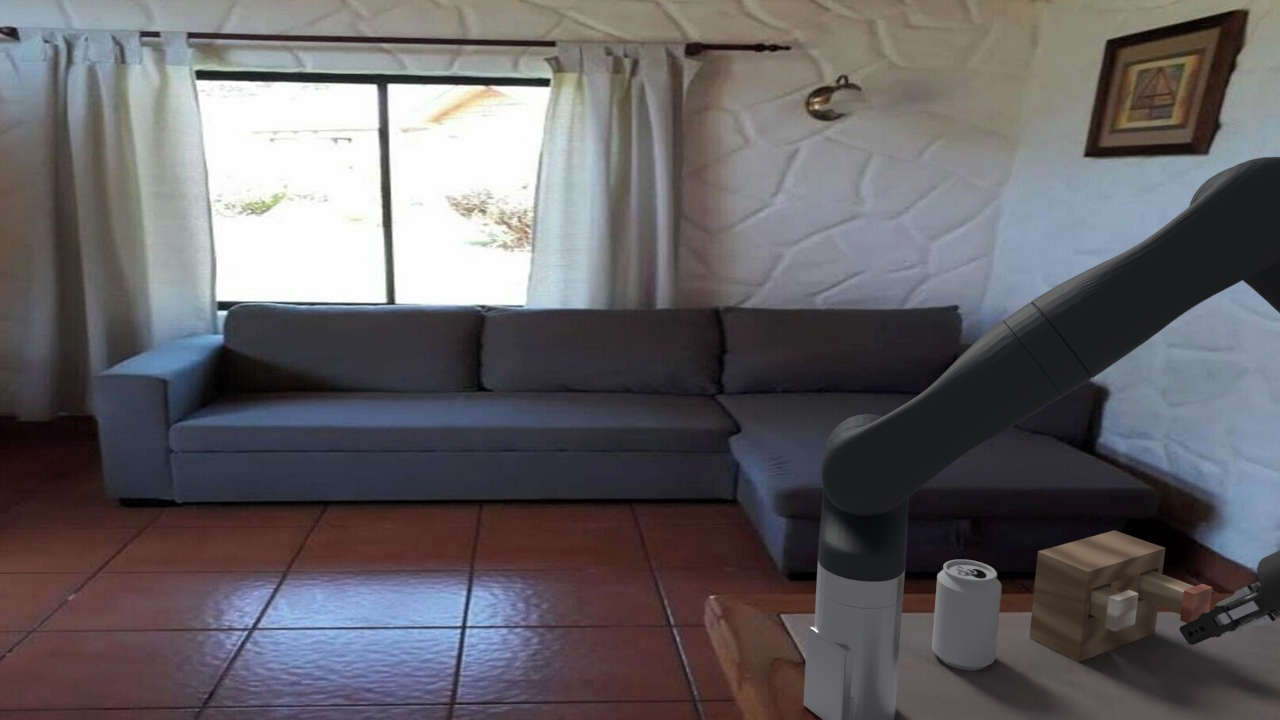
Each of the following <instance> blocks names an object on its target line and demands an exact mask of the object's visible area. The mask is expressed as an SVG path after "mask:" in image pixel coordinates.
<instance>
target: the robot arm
mask: <svg viewBox="0 0 1280 720" xmlns="http://www.w3.org/2000/svg"><path fill="white" fill-rule="evenodd" d="M1242 281H1243V282H1244V283H1245V284H1247V285H1248V286H1249V287H1250V288H1251V289H1253V291H1255V292H1256V293H1257V294H1258V295H1259V296H1260V297H1261V298H1263V300H1265V301H1266V302H1267V303H1268V304H1269V305H1270V306H1271V307H1272V308H1273V309H1274V310H1275V311H1277V312H1278V314H1280V156H1267V157H1265V156H1263V157H1257V158H1252V159H1249V160H1246V161H1244V162H1240V163H1238V164H1235V165H1233V166H1231V167H1228V168H1227V169H1224V170H1222V171H1220V172H1218V173H1215V175H1213V176H1211V177H1209V178H1208V179H1207V180H1205V181H1204V182H1203V183H1202V184H1201V185H1200V186H1199V188H1197V190H1196V191H1195V192H1194V195H1192V198H1191V199H1190V203H1189V206H1188V207H1187V208H1186V209H1184V210H1183V211H1182V212H1180V213H1179V214H1178V215H1177V216H1176V217H1174V218H1172V219H1171V220H1170V221H1169V222H1167V223H1166V224H1165V225H1164V226H1162V227H1161V228H1160V229H1158V230H1157V231H1156V232H1154V233H1153V234H1151V235H1150V236H1149V237H1148V238H1146V239H1144V240H1143V241H1141V242H1140V243H1138V244H1136V245H1135V246H1132V247H1131V248H1129V249H1128V250H1126V251H1123V252H1122V253H1119V254H1118V255H1115V256H1114V257H1112V258H1110V259H1108V260H1105V261H1103V262H1101V263H1099V264H1097V265H1095V266H1093V267H1090V268H1089V269H1087V270H1085V271H1083V272H1080V273H1079V274H1076V275H1075V276H1073V277H1070V278H1068V279H1067V280H1065V281H1064V282H1062V283H1059V284H1058V285H1056V286H1054V287H1053V288H1051V289H1049V290H1048V291H1046V292H1045V293H1042V294H1041V295H1039V296H1037V297H1036V298H1034V299H1033V300H1031V301H1030V302H1028V303H1027V304H1025V305H1023V306H1022V307H1020V308H1019V309H1018V310H1016V311H1015V312H1013V313H1012V314H1010V315H1009V316H1008V317H1006V318H1004V319H1003V320H1001V321H1000V322H998V323H997V324H996V325H995V326H993V327H992V328H991V329H989V330H988V331H987V332H985V334H983V335H982V336H981V337H980V338H979V339H977V340H976V341H975V342H974V343H973V344H972V345H971V346H970V347H969V348H968V349H967V350H966V351H964V352H963V353H962V355H960V356H959V357H958V358H957V359H956V360H955V361H954V362H953V364H951V365H950V366H949V367H948V368H947V370H946V371H945V372H943V374H941V376H939V378H937V379H936V381H934V382H933V383H932V384H931V385H929V386H928V387H927V388H926V389H925V390H923V392H921V393H920V394H918V395H917V396H915V397H914V398H912V399H911V400H909V401H907V402H906V403H904V404H903V405H901V406H899V407H897V408H896V409H894V410H893V411H891V412H889V413H887V414H886V415H883V416H881V415H877V414H868V413H865V414H864V413H863V414H857V415H853V416H851V417H849V418H846V419H845V420H843V421H842V422H841V423H839V424H838V425H837V426H836V427H835V428H834V429H833V430H832V431H831V433H830V434H829V436H828V438H827V441H826V443H825V447H824V451H823V455H822V460H821V464H820V468H821V469H820V478H821V484H822V501H821V502H822V503H821V504H822V505H821V515H820V525H819V533H818V534H819V536H818V550H817V551H818V552H817V573H816V589H815V591H816V592H815V608H814V609H815V611H814V625H810V626H809V627H808V628H807V630H806V644H805V645H806V648H805V649H806V650H805V651H806V652H805V669H804V687H803V689H804V690H803V691H804V692H803V706H805V707H806V709H808V710H809V711H811V712H812V713H813V714H815V716H817V717H819V718H820V719H821V720H894V719H895V716H896V704H897V691H898V677H899V675H898V673H899V664H900V663H899V661H900V646H901V645H900V643H901V634H902V633H901V631H902V618H903V617H902V616H903V615H902V614H903V604H904V603H903V602H904V591H905V590H904V589H905V588H904V587H905V586H904V585H905V574H906V573H905V572H906V563H907V551H908V550H907V549H908V545H907V544H908V525H909V524H908V522H909V521H908V520H909V518H908V517H909V504H910V503H909V502H910V497H911V496H913V494H915V493H916V492H917V491H918V490H919V489H921V488H922V487H923V486H925V485H926V484H927V483H928V482H930V481H931V480H932V479H934V477H936V476H937V475H938V474H940V473H941V472H942V471H944V470H945V469H946V468H948V466H950V465H952V464H953V463H954V462H955V461H957V460H958V459H959V458H961V457H962V456H963V455H965V454H967V453H968V452H970V451H971V450H973V449H974V448H976V447H978V446H981V444H984V443H985V442H987V441H989V440H991V439H993V438H994V437H996V436H998V435H1000V434H1002V433H1004V432H1005V431H1007V430H1009V429H1011V428H1012V427H1014V426H1015V425H1017V424H1018V425H1019V423H1021V422H1023V421H1024V420H1026V419H1027V418H1029V417H1031V416H1032V415H1035V413H1038V412H1039V411H1041V410H1043V409H1044V408H1046V407H1047V406H1049V405H1051V404H1053V403H1055V402H1056V401H1059V400H1060V399H1062V398H1063V397H1065V396H1066V395H1068V394H1070V393H1072V391H1075V390H1076V389H1077V388H1079V387H1080V386H1083V385H1084V384H1086V383H1087V382H1089V381H1090V380H1091V379H1093V378H1095V377H1098V375H1099V374H1101V373H1103V372H1104V371H1106V370H1107V369H1108V368H1110V367H1111V366H1112V365H1114V364H1115V363H1117V362H1119V361H1121V359H1123V358H1124V357H1126V356H1128V355H1129V354H1131V353H1132V352H1133V351H1135V350H1136V349H1137V348H1139V347H1140V346H1142V345H1143V344H1144V343H1146V342H1147V341H1148V340H1150V339H1152V338H1153V337H1154V336H1155V335H1157V334H1158V333H1160V332H1161V331H1162V330H1164V329H1165V328H1166V327H1167V326H1169V325H1170V324H1171V323H1172V322H1174V321H1175V320H1177V319H1178V318H1179V317H1181V316H1182V315H1184V314H1185V313H1187V312H1189V311H1190V310H1191V309H1193V308H1194V307H1196V306H1198V305H1199V304H1201V303H1203V302H1205V301H1206V300H1208V299H1209V298H1212V297H1213V296H1215V295H1217V294H1219V293H1221V292H1223V291H1225V290H1227V289H1230V288H1231V287H1233V286H1236V285H1237V284H1238V283H1240V282H1242ZM1256 570H1257V571H1256V572H1257V573H1256V574H1257V579H1258V581H1256V582H1255V583H1253V584H1249V585H1246V586H1245V587H1242V588H1240V589H1238V590H1235V592H1234V594H1233V595H1230V596H1228V597H1226V598H1223V600H1221V601H1218V602H1217V603H1216V604H1215V606H1214V607H1213V608H1212V609H1211V610H1209V611H1207V612H1204V613H1202V614H1201V616H1199V618H1198V619H1196V620H1194V621H1192V622H1189V623H1185V624H1182V625H1180V627H1179V633H1181V634H1180V635H1182V636H1183V638H1184V639H1185V641H1186V643H1187V644H1188V645H1191V646H1194V645H1196V644H1200V643H1201V642H1203V641H1206V640H1208V639H1212V638H1213V639H1214V638H1215V637H1216V638H1217V639H1218V638H1220V637H1222V636H1225V635H1226V633H1228V632H1229V633H1231V632H1233V633H1236V634H1238V633H1241V632H1243V631H1246V630H1249V629H1252V628H1253V627H1257V626H1258V627H1262V626H1265V625H1267V624H1269V623H1272V622H1275V621H1276V620H1278V619H1280V549H1278V550H1277V551H1275V552H1273V553H1271V554H1269V555H1267V556H1264V557H1263V558H1262V559H1260V561H1259V562H1258V563H1257V567H1256Z"/></svg>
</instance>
